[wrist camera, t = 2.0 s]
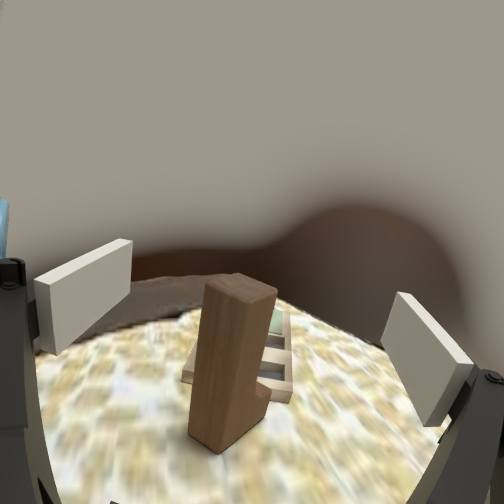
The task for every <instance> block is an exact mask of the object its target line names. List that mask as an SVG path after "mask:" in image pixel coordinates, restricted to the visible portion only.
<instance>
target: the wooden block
mask: <svg viewBox="0 0 504 504" xmlns="http://www.w3.org/2000/svg"><path fill="white" fill-rule="evenodd" d="M277 293H278V292H277V289H276V288H274V287H272V286H269V285H267V284H264V283H262V282H259V281H257V280H254V279H252V278H250V277H247V276H244V275H242V274H240V273H235V274H231V275H227V276H224V277H220V278H216V279H213V280H209V281H207V282H206V284H205V289H204V296H203V303H202V311H201V318H200V326H199V334H198V341H197V350H196V358H195V366H194V375H193V384H192V393H191V403H190V412H189V422H188V433H189V434H190V435H191V436H193V437H194V438H195V439H197V440H198V441H199V442H201V443H202V444H204V445H205V446H206V447H208V448H209V449H211V450H212V451H214V452H215V453H217V454H219V453H221V452H222V451H223V450H225V449H226V448H227V447H228V446H230V445H231V444H232V443H233V442H235V441H236V440H237V439H238V438H239V437H241V436H242V435H243V434H244V433H245V432H247V431H248V430H249V429H250V428H251V427H252V426H254V425H255V424H256V423H257V422H258V421H259V420H261V419H262V418H263V417H264V416H265V414H266V410H267V407H268V404H269V400H270V397H271V393H272V390H271V389H270V388H269V387H267V386H265V385H263V384H261V383H259V382H258V381H257V377H258V373H259V369H260V365H261V361H262V357H263V353H264V349H265V344H266V340H267V336H268V332H269V327H270V323H271V319H272V315H273V310H274V306H275V302H276V297H277Z"/></svg>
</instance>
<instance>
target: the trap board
mask: <svg viewBox="0 0 504 504" xmlns="http://www.w3.org/2000/svg"><path fill="white" fill-rule="evenodd" d="M197 341H198V339H197ZM197 341H196V343H195V345H194V347H193V349H192V351H191V353H190V355H189V357H188V359H187V362H186V364H185V366H184V368H183V371H182V382H186V383H190V384H193V375H194V366H195V358H196V350H197ZM257 381H258V382H259V383H261V384H263V385H265V386H267V387H269V388H270V389H271V390H272V393H271V397H270V400H272V401H278V402H284V403H289V401H290V398H291V395H292V392H293V385H292V354H291V328H290V313H288V312H283V311H279V310H273V315H272V319H271V323H270V327H269V332H268V336H267V340H266V344H265V349H264V353H263V357H262V361H261V365H260V369H259V373H258V377H257Z"/></svg>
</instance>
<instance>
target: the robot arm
mask: <svg viewBox="0 0 504 504" xmlns="http://www.w3.org/2000/svg"><path fill="white" fill-rule="evenodd" d="M5 3H6V0H0V19H1V16H2V13H3V9H4V6H5ZM8 221H9V203H8V201H6V200H3V199H1V198H0V504H62V503H61V501H60V498H59V495H58V492H57V488H56V485H55V481H54V477H53V473H52V469H51V465H50V461H49V456H48V452H47V447H46V442H45V436H44V431H43V425H42V419H41V412H40V405H39V397H38V388H37V378H36V366H35V350H34V343H33V340H34V339H35V338H37V337H38V336H39V337H40V344H41V349H42V350H44V351H46V352H48V353H51V354H53V355H55V356H58V355H59V354H60V353H61V352H62V351H63V350H64V349H65V348H67V347H68V346H69V345H70V344H71V343H72V342H73V341H74V340H76V339H77V338H78V337H79V336H80V335H81V334H82V333H84V332H85V331H86V330H87V329H88V328H89V327H90V326H92V325H93V324H94V323H95V322H96V321H97V320H98V319H100V318H101V317H102V316H103V315H104V314H105V313H107V312H108V311H109V310H110V309H111V308H112V307H114V306H115V305H116V304H117V303H118V302H120V301H121V300H122V299H123V298H124V297H125V296H127V295H128V294H129V293H130V277H131V261H132V246H133V241H129V240H125V239H117V240H115V241H113V242H111V243H108V244H107V245H104V246H102V247H100V248H97V249H95V250H93V251H91V252H89V253H87V254H85V255H82V256H80V257H78V258H76V259H74V260H72V261H70V262H68V263H66V264H64V265H62V266H60V267H57V268H55V269H53V270H51V271H49V272H47V273H45V274H43V275H41V276H39V277H37V278H35V279H33V280H31V281H29V282H27V283H26V271H25V262H24V261H23V260H21V259H18V258H5V257H6V244H7V232H8ZM381 343H382V345H383V347H384V348H385V350H386V352H387V354H388V356H389V358H390V360H391V362H392V364H393V366H394V368H395V370H396V372H397V373H398V375H399V377H400V379H401V381H402V383H403V385H404V387H405V389H406V391H407V393H408V395H409V397H410V400H411V402H412V404H413V406H414V408H415V410H416V412H417V414H418V416H419V418H420V420H421V422H422V425H423V427H438V426H441V424H442V423H443V421H444V419H445V418H446V416H447V414H449V416H450V418H451V419H452V421H451V422H450V424H449V426H448V427H447V429H446V430H445V432H444V433H443V435H442V436H441V438H440V439H439V441H438V442H437V443H439V446H438V448H437V450H436V452H435V454H434V456H433V458H432V460H431V461H430V463H429V465H428V467H427V469H426V471H425V472H424V474H423V476H422V478H421V480H420V481H419V483H418V485H417V486H416V488H415V490H414V491H413V493H412V495H411V496H410V498H409V500H408V501H407V503H406V504H484V502H485V499H486V496H487V493H488V489H489V486H490V504H504V378H503V377H502V376H501V375H500V374H498V373H497V372H494V371H491V370H486V369H483V370H480V369H479V368H478V367H477V365H476V364H475V363H474V362H473V361H472V360H471V358H469V356H468V355H467V354H466V353H465V351H464V350H463V349H462V348H461V347H460V346H459V345H458V344H456V342H455V341H454V340H453V339H452V338H451V337H450V336H449V335H448V334H447V332H446V331H445V330H444V329H443V328H442V327H441V326H440V325H439V324H438V323H437V322H436V321H435V319H433V317H432V316H431V315H430V314H429V313H428V312H427V311H426V310H425V309H424V308H423V307H422V306H421V305H420V304H419V303H418V301H417V300H416V299H415V298H414V297H413V296H412V295H411V294H407V293H402V292H397V294H396V297H395V300H394V303H393V306H392V310H391V312H390V315H389V318H388V321H387V324H386V327H385V330H384V333H383V336H382V338H381ZM110 504H118V503H116V502H113V501H111V502H110Z"/></svg>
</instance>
